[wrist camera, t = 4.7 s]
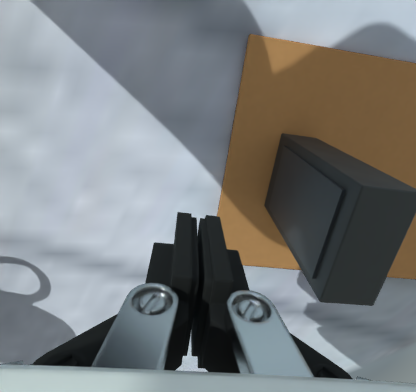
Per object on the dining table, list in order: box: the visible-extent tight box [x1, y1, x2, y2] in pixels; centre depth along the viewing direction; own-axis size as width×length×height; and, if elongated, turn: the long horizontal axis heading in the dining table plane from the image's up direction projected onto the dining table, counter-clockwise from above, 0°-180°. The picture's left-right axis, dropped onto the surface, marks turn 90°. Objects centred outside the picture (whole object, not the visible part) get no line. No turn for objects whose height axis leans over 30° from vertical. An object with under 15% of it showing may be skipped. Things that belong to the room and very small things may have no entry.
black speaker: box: [264, 133, 416, 306], centre depth 18 cm, size 3×6×11 cm, turn 172°
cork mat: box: [217, 34, 416, 279], centre depth 24 cm, size 24×18×1 cm
